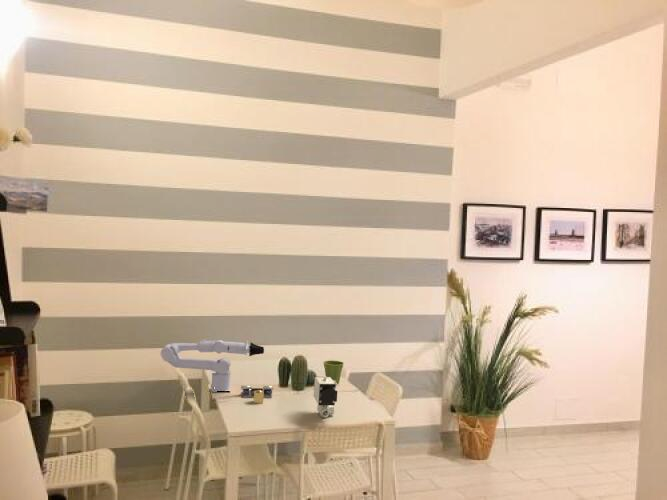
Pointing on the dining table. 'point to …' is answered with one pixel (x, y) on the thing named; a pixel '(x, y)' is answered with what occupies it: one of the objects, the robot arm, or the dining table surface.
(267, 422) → the dining table surface
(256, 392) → the coupler
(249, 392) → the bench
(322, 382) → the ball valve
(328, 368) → the plant pot
